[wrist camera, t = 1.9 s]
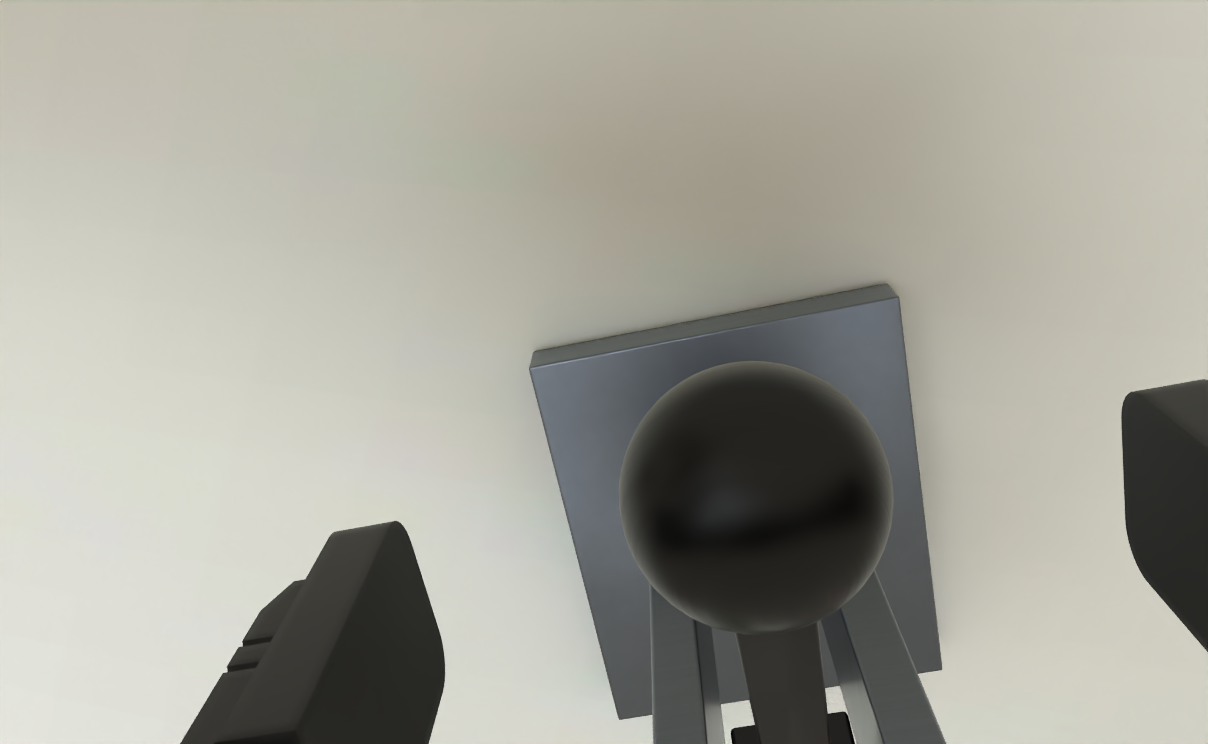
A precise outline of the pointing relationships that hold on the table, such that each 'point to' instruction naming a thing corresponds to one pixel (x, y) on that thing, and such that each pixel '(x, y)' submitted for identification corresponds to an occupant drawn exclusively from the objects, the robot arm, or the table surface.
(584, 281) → the table surface
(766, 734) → the press lever
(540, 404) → the lever bracket
